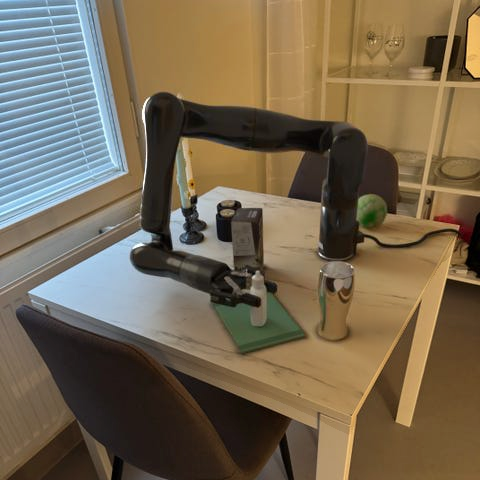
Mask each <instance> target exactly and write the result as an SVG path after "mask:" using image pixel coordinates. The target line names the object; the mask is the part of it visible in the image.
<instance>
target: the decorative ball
mask: <svg viewBox="0 0 480 480" xmlns="http://www.w3.org/2000/svg"><path fill="white" fill-rule="evenodd" d="M387 215H388V205H387V202H386V201H385V200H384V198H382V197H381V196H380V195H377V194H373V193H368V194H364V195H362V196H359V199H358V209H357V219H356V220H357V221H359V228H362V229H365V230H372V229H373V230H374V229H375V228H378V227H379V226H381V225H383V223H384V221H385V220H386V218H387Z"/></svg>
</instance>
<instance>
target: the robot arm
mask: <svg viewBox="0 0 480 480" xmlns="http://www.w3.org/2000/svg"><path fill="white" fill-rule="evenodd" d="M142 121H143V124H144V130H145V131H144V132H145V143H146V145H145V146H146V147H145V148H146V156H145V157H146V158H145V170H144V175H143V176H144V178H143V183H142V190H141V198H140V212H139V227H140V229H141V230H142V231H143V232H145V233H147V234H149V235H150V241H147V242H140V243H138V244H137V243H136V245H134V246H133V247H132V248H131V250H130V252H129V262H130V264H131V265H132V267H133V268H134V269H135V270H136V271H137V272H139V273H141V274H144V275H147V276H152V277H157V278H164V279H165V278H166V279H171V280H173V281H176V282H178V283H181V284H184V285H185V286H188V287H190V288H192V289H194V290H196V291H200V292H203V293H205V294H209V301H210V303H211V304H213V303H216V304H220V305H224V306H229V307H236V306H237V304H247V305H249V306H252V307H257V308H259V307H260V306H261V298H260V297H258V296H255V295H252V294H249V293H250V292H244V291H243V290H246V291H247V290H248V291H250V289H251V287H252V277H253V276H254V275H255V274H256V271H260V270H258V269H256V268H254V267H251V266H249V265H245V266H244V269H243V270H241V271H238V270H234V269H232V268H231V267H230V266H229V265H228V264H227V263H226V262H223V261H219V260H216V259H213V258H210V257H207V256H203V255H200V254H193V253H190V252H187V251H184V250H181V249H180V250H178V249H174V244H173V237H172V231H171V218H172V207H173V194H174V193H173V192H174V175H175V167H176V159H177V154H178V148H179V144H180V142H181V141H180V140H181V139H182V138H183V139H195V140H196V139H197V140H204V141H208V142H212V143H215V144H218V145H222V146H225V147H228V148H232V149H236V150H242V151H245V152H247V151H248V152H254V153H260V154H283V153H288V152H304V153H308V154H313V155H317V156H320V157H324V158H326V159H327V170H326V178H324V179H323V181H322V184H321V195H320V197H321V199H320V218H319V234H318V235H319V236H318V242H317V246H318V249H317V255H318V256H319V257H320V258H321V259H323V260H325V261H327V262H331V261H342V262H346V261H348V260H350V259H351V258H353V257H354V256H357V250H358V249H357V248H358V245H359V244H364V243H365V238H366V239H370V240H372V241H374V242H375V243H376V245H378V246H379V247H382V248H392V249H394V248H395V249H396V248H397V249H399V248H407V247H408V248H409V247H412V246H413V247H414V246H417V245H420V244H422V243H423V242H424V241H425V240H426V239H427V238H428V237H430V236H433V235H438V234H442V233H443V234H444V233H454V234H455V235H458V236H463V233H462V232H461V231H460V230H458V229H456V228H442V229H437V230H433V231H429V232H427V233H425V234H424V235H423V236H422V237H421V238H420V239H419V240H416V241H412V242H407V243H401V244H400V243H399V244H390V243H384V242H381V241H380V240H379V239H378V238H377V237H376V236H373V235H371V234H368V233H364V232H363V231H361V230H360V226H359V221H357V220H356V219H357V209H358V199H359V198H360V189H361V186H362V185H363V182H364V178H365V172H366V165H367V158H368V139H367V136H366V134H365V133H364V132H363V130H361V129H359V128H358V127H357V126H354V125H353V124H352V123H350V122H347V121H341V120H318V119H308V118H302V117H298V116H295V115H292V114H288V113H284V112H279V111H275V110H271V109H266V108H265V109H264V108H260V107H252V106H246V105H245V106H244V105H243V106H242V105H210V104H209V105H208V104H202V103H198V102H195V101H194V102H193V101H189V100H186V99H183V98H179V97H178V96H177V95H176V94H174V93H172V92H168V91H158V92H156V93H153V94H152V95H150V96H149V97H148V98H147V99H146V101H145V102H144V105H143V108H142ZM260 275H262V276H263V277H264V285H265V287H266V291H267V292H270V293H272V294H273V295H275V294H277V292H278V283H276V282H274V281H272V280H271V281H270V280H268V279H266V272H264V271H263V270H262V271H260ZM246 278H247V279H248V282H246ZM227 298H228V299H230V301H227Z"/></svg>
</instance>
